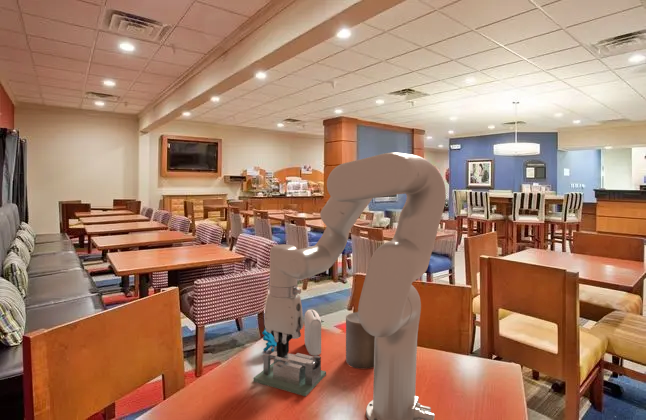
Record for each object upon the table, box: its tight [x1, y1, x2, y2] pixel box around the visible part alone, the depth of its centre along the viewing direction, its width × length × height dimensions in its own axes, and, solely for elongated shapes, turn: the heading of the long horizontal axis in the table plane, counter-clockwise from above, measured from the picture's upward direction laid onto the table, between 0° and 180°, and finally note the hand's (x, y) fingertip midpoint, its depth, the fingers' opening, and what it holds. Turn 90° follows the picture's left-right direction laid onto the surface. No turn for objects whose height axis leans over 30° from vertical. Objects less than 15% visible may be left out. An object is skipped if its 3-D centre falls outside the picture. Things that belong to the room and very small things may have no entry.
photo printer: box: [304, 309, 322, 356], centre depth 124 cm, size 10×4×12 cm, turn 13°
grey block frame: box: [262, 346, 322, 386], centre depth 105 cm, size 15×8×6 cm, turn 64°
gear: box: [262, 327, 277, 353], centre depth 122 cm, size 11×6×10 cm
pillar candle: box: [345, 311, 375, 370], centre depth 115 cm, size 10×10×15 cm
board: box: [252, 361, 327, 397], centre depth 106 cm, size 16×12×1 cm
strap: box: [270, 351, 318, 367], centre depth 105 cm, size 14×3×1 cm, turn 64°
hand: (282, 355), depth 107 cm, fingers closed
